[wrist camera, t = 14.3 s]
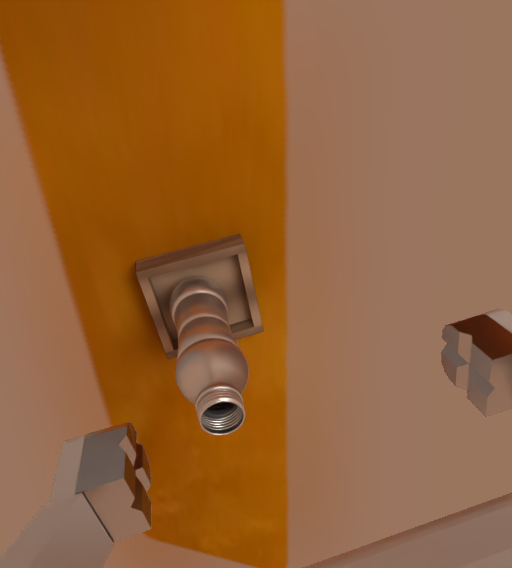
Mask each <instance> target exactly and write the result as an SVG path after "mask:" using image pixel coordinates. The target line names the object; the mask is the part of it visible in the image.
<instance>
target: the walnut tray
mask: <svg viewBox="0 0 512 568" xmlns="http://www.w3.org/2000/svg"><path fill="white" fill-rule="evenodd" d="M136 275H137V278H138V281H139V283H140V286H141V289H142V291H143V294H144V297H145V299H146V302H147V305H148V307H149V310H150V313H151V316H152V318H153V321H154V324H155V326H156V329H157V332H158V334H159V337H160V340H161V342H162V345H163V348H164V351H165V353H166V356H167V359H170V358H174V357H177V355H178V333H177V329H176V325H175V323H174V322H173V319H172V316H171V313H170V309H169V303H170V298H171V295H172V292H173V290H174V288H175V287H176V286H177V285H178V283H180V282H181V281H183V280H185V279H187V278H190V277H195V276H201V277H206V278H209V279H211V280H213V281H215V282H216V283H217V284H218V285H219V286H220V287H221V289H222V290H223V291H224V293H225V295H226V297H227V301H228V320H229V326H230V329H231V331H232V334H233V336H234V339H235V340H236V339H239V338H243V337H246V336H250V335H253V334H256V333H260V332H263V327H262V322H261V317H260V313H259V308H258V303H257V299H256V294H255V289H254V285H253V280H252V275H251V271H250V266H249V262H248V257H247V252H246V248H245V243H244V242H243V240H242V238H241V236H240V234H237V235H234V236H230V237H226V238H222V239H218V240H215V241H211V242H207V243H203V244H199V245H196V246H192V247H188V248H184V249H180V250H177V251H173V252H169V253H165V254H161V255H158V256H154V257H150V258H146V259H142V260H139V261H136Z"/></svg>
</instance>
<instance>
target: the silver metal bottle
mask: <svg viewBox="0 0 512 568" xmlns="http://www.w3.org/2000/svg"><path fill="white" fill-rule="evenodd" d="M169 309H170V313H171V316H172V319H173V322H174V323H175V325H176V329H177V333H178V355H177V363H176V374H175V377H176V382H177V385H178V387H179V389H180V391H181V392H182V394H183V395H184V397H185V398H186V399H187V400H189V401H190V402H191V403H193V404H194V405H195V408H196V412H197V415H198V419H199V423H200V426H201V428H202V429H203V430H204V431H205V432H207V433H209V434H212V435H217V436H218V435H227V434H230V433H232V432H234V431H236V430H237V429H239V428H240V427H241V425H242V424H243V422H244V420H245V409H244V406H243V398H242V395H241V394H242V393H243V391H244V389H245V387H246V385H247V381H248V373H249V369H248V363H247V360H246V358H245V356H244V354H243V352H242V351H241V349H240V347H239V346H238V344H237V342H236V341H235V339H234V336H233V334H232V331H231V329H230V326H229V320H228V301H227V297H226V295H225V293H224V291H223V290H222V289H221V287H220V286H219V285H218V284H217V283H216V282H215V281H213V280H211V279H209V278H206V277H201V276H195V277H190V278H187V279H185V280H183V281H181V282H180V283H178V285H177V286H176V287H175V288H174V290H173V292H172V295H171V298H170V303H169Z"/></svg>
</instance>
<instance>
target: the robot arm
mask: <svg viewBox="0 0 512 568" xmlns="http://www.w3.org/2000/svg"><path fill="white" fill-rule="evenodd" d="M442 339H443V340H444V341H445V342H447V345H446V346H445V347H444V349H443V350H442V352H441V355H442V356H441V357H442V360H441V362H442V365H443V368H444V371H445V373H446V374H447V376H448V378H449V379H450V380H451V381H452V382H453V383H454V385H455V386H457V387H460V388H462V389H465V390H467V398H468V399H469V400H470V401H471V402H472V403H473V404H474V406H476V408H478V410H479V411H480V412H481V413H482V414H483V415H484V416H485V417H487V416H490V415H493V414H497V413H500V412H503V411H506V410H509V409H512V314H511V313H509V312H508V311H506V310H504V309H500V308H498V309H494V310H491V311H488V312H485V313H482V314H480V315H477V316H474V317H470V318H467V319H464V320H461V321H457V322H454V323H451V324H448V325H445V327H444V329H443V331H442ZM150 486H151V473H150V466H149V461H148V458H147V454H146V451H145V449H144V447H143V445H141V444H139V443H137V432H136V430H135V428H134V427H133V425H132V423H130V422H128V423H124V424H121V425H117V426H113V427H110V428H106V429H103V430H99V431H96V432H92V433H89V434H87V435H84V436H80V437H76V438H73V439H69V440H66V441H65V443H64V444H63V445H62V448H61V452H60V457H59V461H58V465H57V470H56V474H55V478H54V483H53V487H52V492H51V496H50V500H49V503H48V504H45V505H43V506H41V508H40V509H39V510H38V511H37V513H36V514H35V515H34V516H33V517H32V519H31V520H30V521H29V523H28V524H27V525H26V526H25V527H24V529H23V530H22V531H21V532H20V534H19V535H18V536H17V537H16V538H15V540H14V541H13V542H12V543H11V545H10V546H9V547H8V548H7V550H6V551H5V552H4V553H3V555H2V556H1V557H0V568H103V567H104V565H105V563H106V560H107V559H108V557H109V555H110V553H111V551H112V549H113V547H114V542H117V541H120V540H122V539H125V538H128V537H131V536H133V535H136V534H139V533H142V532H144V531H147V530H150V529H151V501H150V499H149V496H148V494H147V490H148V489H149V487H150ZM303 568H512V493H509V494H506V495H503V496H501V497H498V498H495V499H492V500H490V501H487V502H484V503H481V504H478V505H476V506H473V507H470V508H467V509H465V510H462V511H459V512H456V513H453V514H451V515H448V516H445V517H442V518H440V519H437V520H434V521H432V522H428V523H426V524H423V525H420V526H417V527H415V528H412V529H409V530H407V531H403V532H401V533H398V534H395V535H392V536H390V537H387V538H384V539H381V540H379V541H376V542H373V543H370V544H368V545H365V546H362V547H359V548H356V549H353V550H351V551H348V552H345V553H342V554H340V555H337V556H334V557H331V558H329V559H326V560H323V561H320V562H317V563H315V564H312V565H309V566H306V567H303Z"/></svg>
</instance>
